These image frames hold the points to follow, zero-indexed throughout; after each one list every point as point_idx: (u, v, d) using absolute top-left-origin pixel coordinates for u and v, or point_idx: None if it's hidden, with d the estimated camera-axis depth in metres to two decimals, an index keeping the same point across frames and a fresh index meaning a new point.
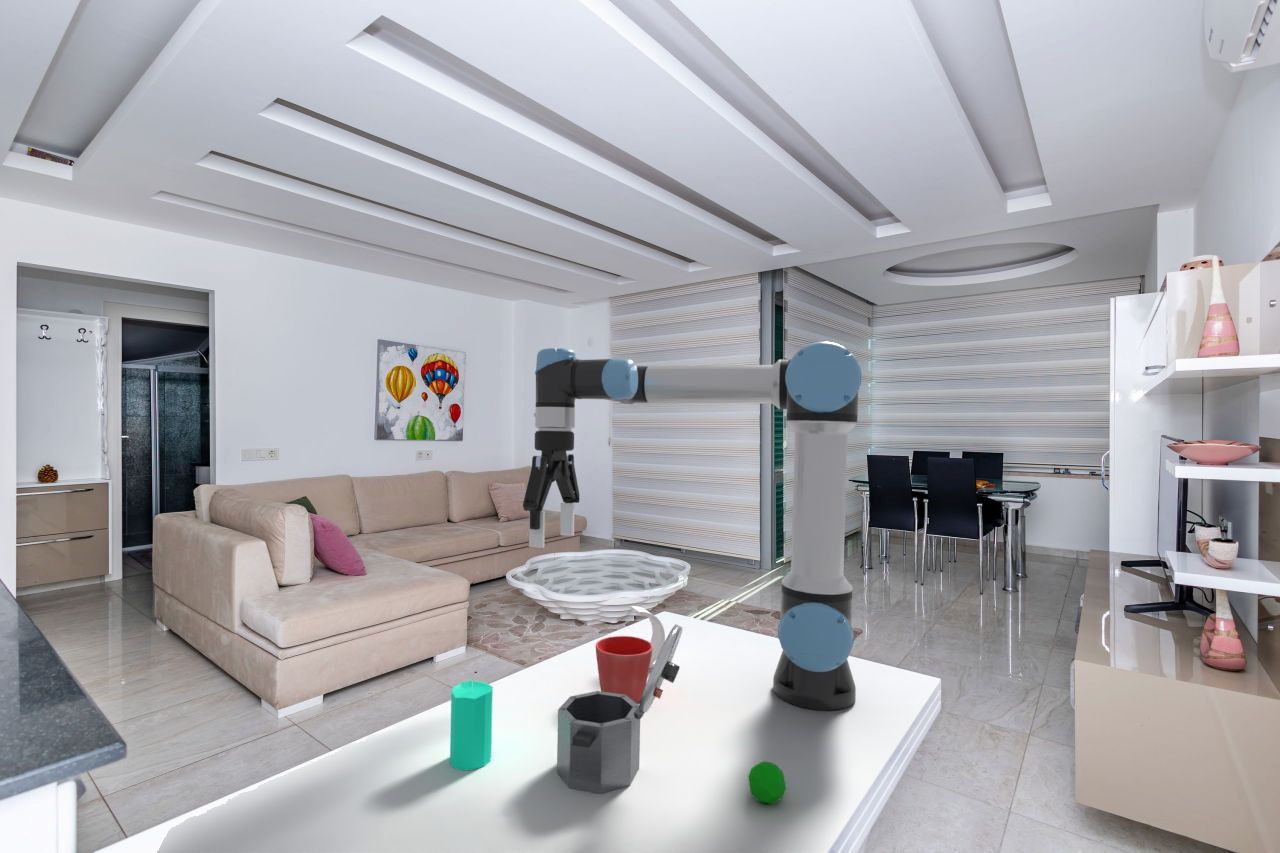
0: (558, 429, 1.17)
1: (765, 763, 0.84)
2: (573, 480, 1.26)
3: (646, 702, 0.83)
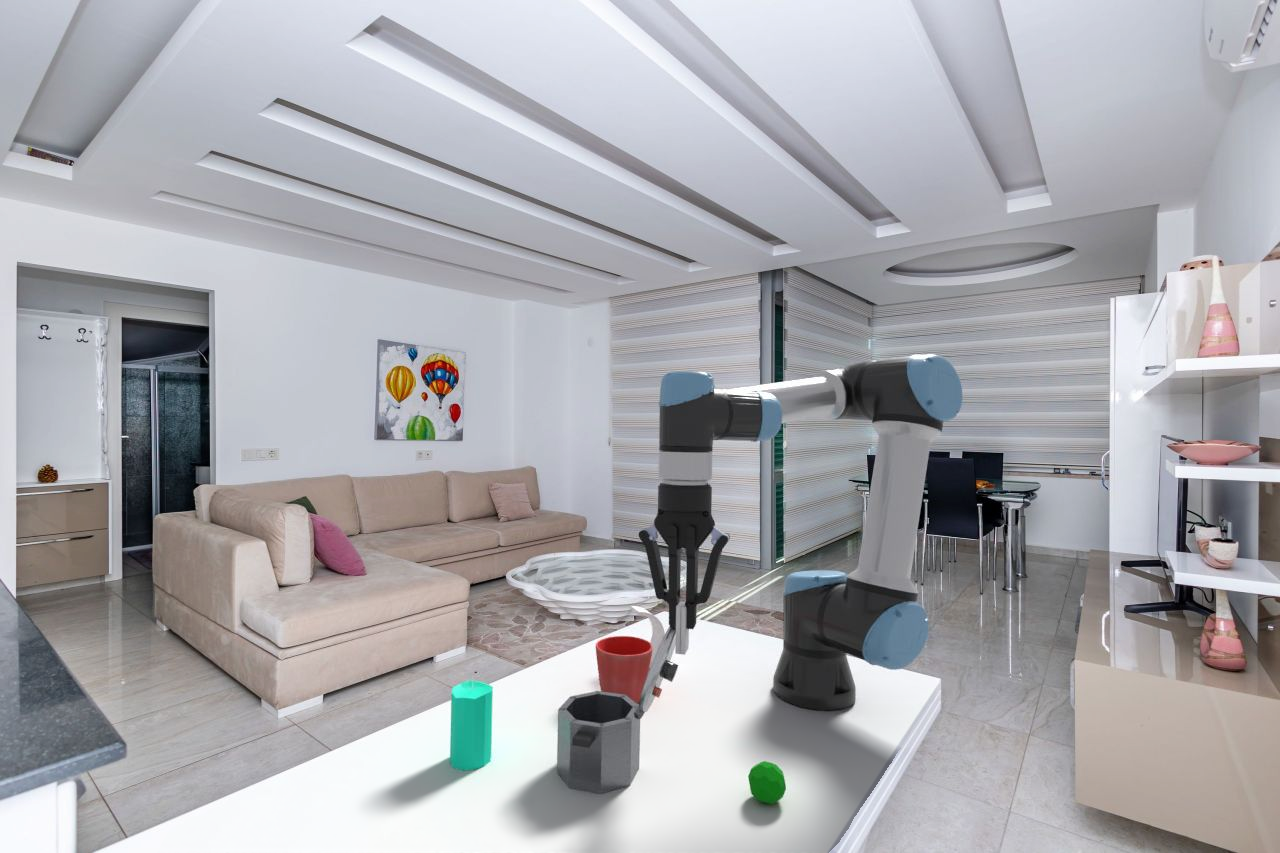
0: (664, 481, 0.86)
1: (765, 763, 0.84)
2: (706, 569, 0.86)
3: (645, 701, 0.83)
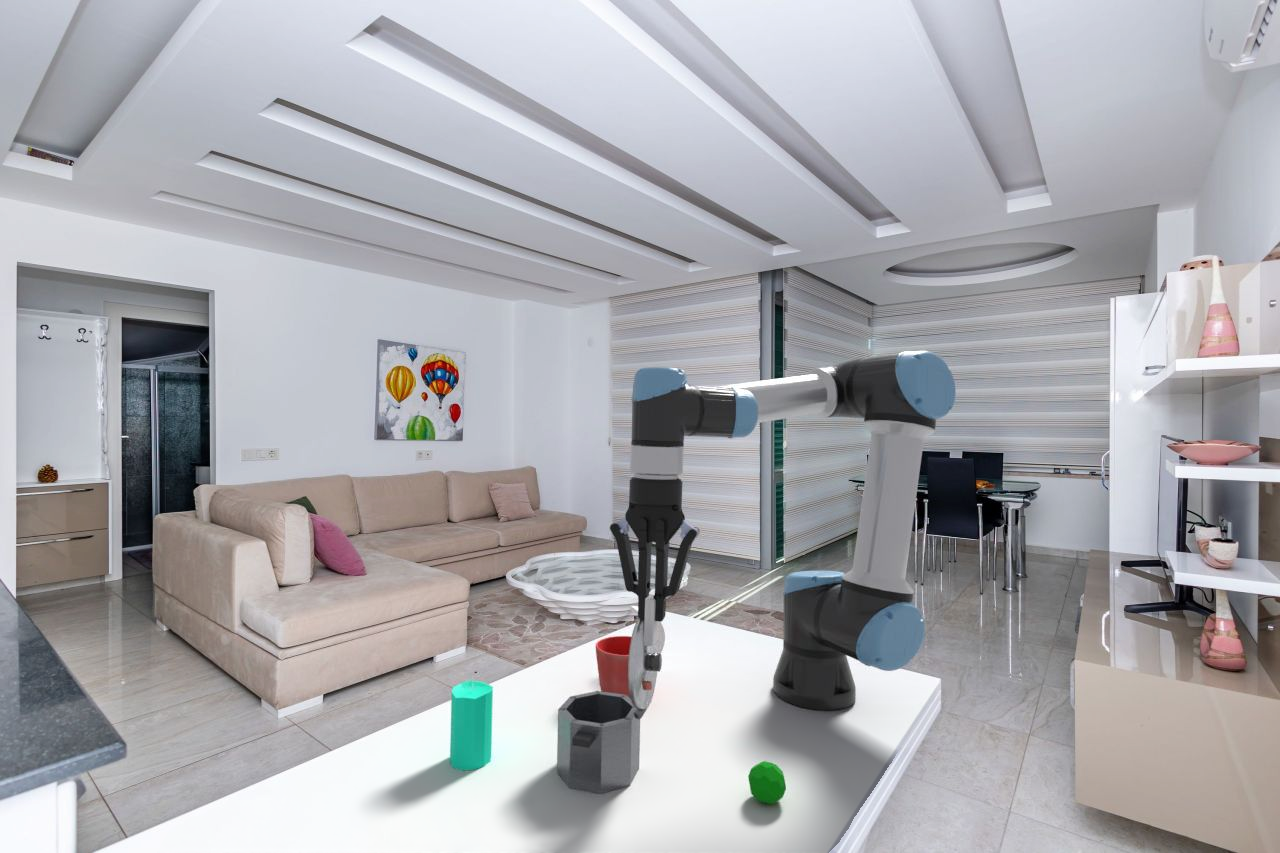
0: (635, 475, 0.88)
1: (765, 763, 0.84)
2: (675, 563, 0.87)
3: (636, 697, 0.83)
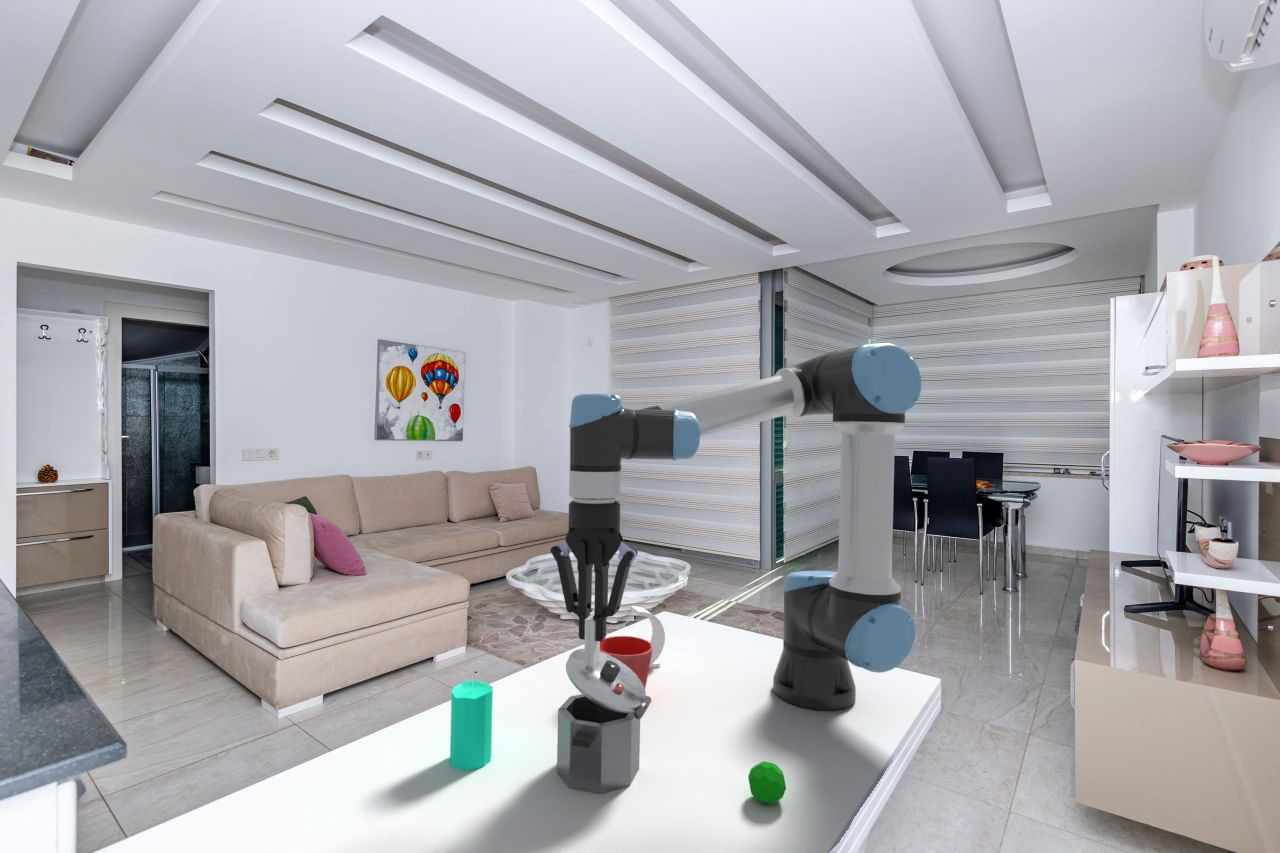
0: (573, 499, 0.90)
1: (765, 763, 0.84)
2: None
3: (611, 704, 0.84)
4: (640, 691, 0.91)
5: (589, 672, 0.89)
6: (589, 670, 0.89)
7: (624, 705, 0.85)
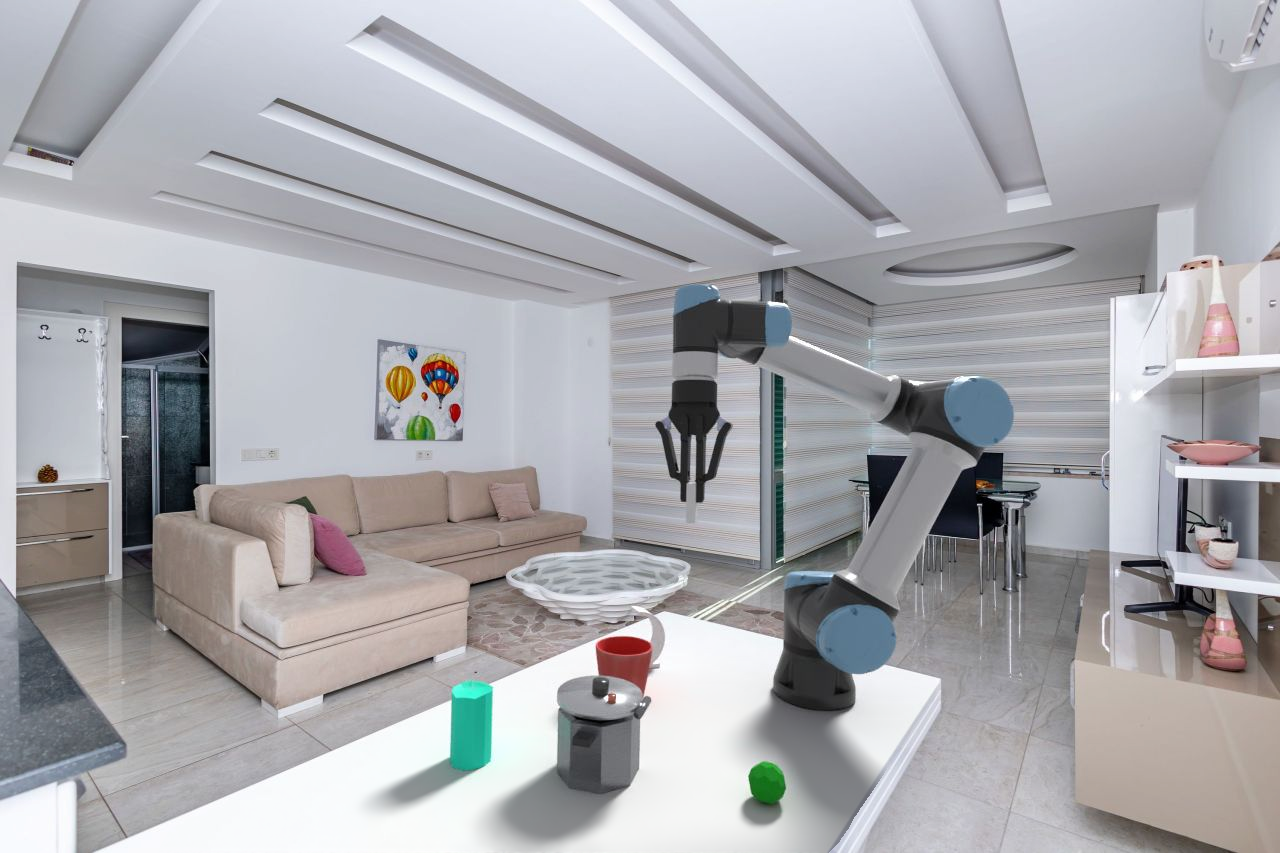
0: (677, 378, 1.03)
1: (765, 763, 0.84)
2: (713, 452, 1.02)
3: (606, 713, 0.85)
4: (637, 694, 0.91)
5: (580, 695, 0.89)
6: (580, 694, 0.90)
7: (620, 710, 0.85)
